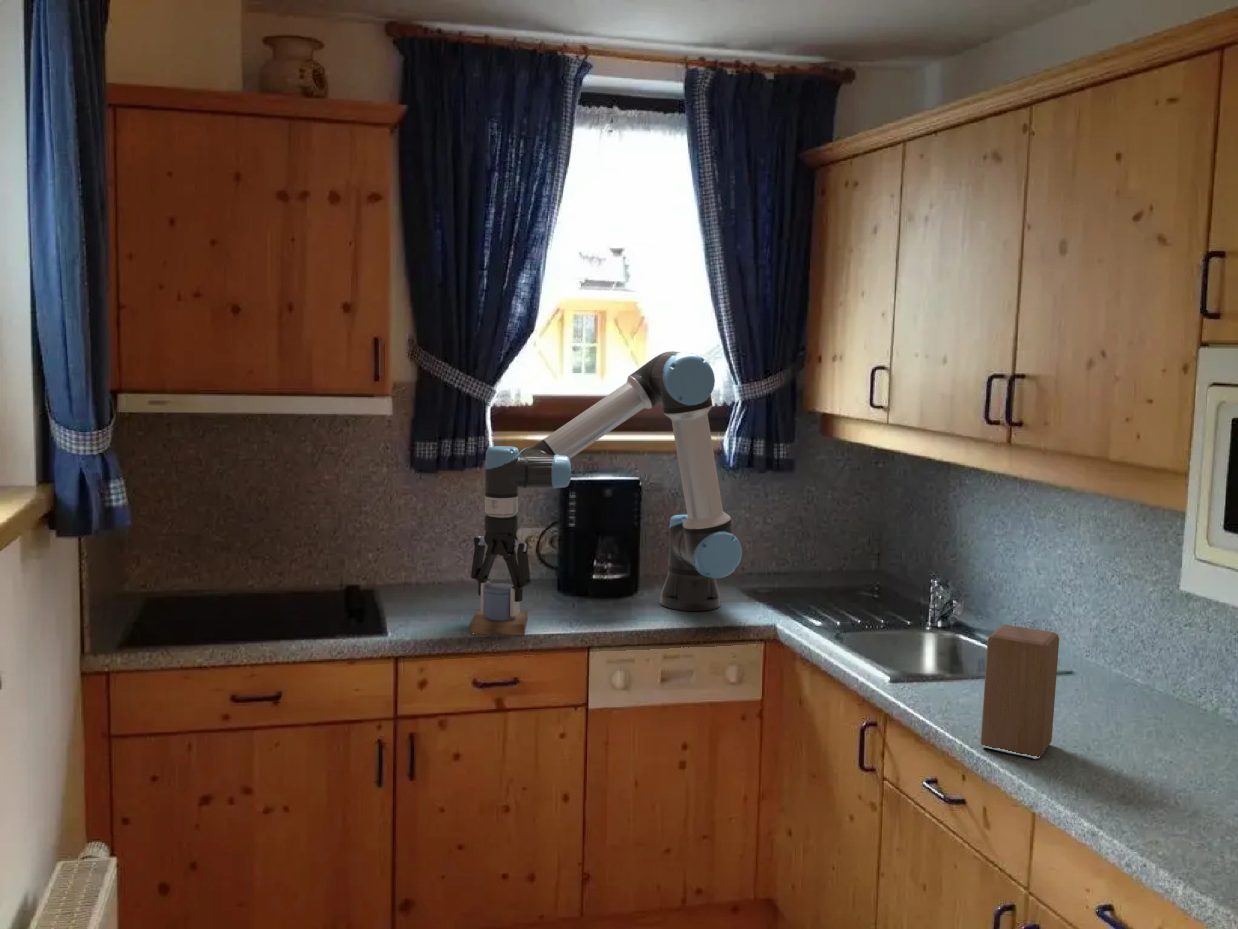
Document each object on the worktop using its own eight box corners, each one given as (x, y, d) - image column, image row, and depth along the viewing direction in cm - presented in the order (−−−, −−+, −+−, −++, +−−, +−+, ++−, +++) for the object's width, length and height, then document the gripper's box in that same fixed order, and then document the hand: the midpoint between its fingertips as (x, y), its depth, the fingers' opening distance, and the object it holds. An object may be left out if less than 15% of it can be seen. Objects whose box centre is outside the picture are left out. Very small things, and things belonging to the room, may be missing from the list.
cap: (517, 613, 266) (518, 584, 265) (512, 621, 259) (512, 591, 258) (487, 612, 266) (487, 582, 266) (481, 619, 259) (481, 589, 258)
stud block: (527, 621, 269) (527, 590, 268) (524, 635, 257) (524, 602, 256) (476, 620, 269) (476, 589, 268) (470, 634, 257) (471, 601, 256)
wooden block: (978, 749, 194) (986, 635, 192) (993, 732, 203) (1000, 622, 200) (1040, 762, 189) (1048, 645, 187) (1052, 744, 197) (1060, 631, 195)
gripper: (455, 512, 262) (454, 609, 264) (529, 521, 252) (528, 622, 255) (474, 507, 268) (473, 603, 271) (548, 516, 258) (546, 615, 261)
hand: (500, 612), depth 263 cm, fingers closed on cap, 7 cm apart
